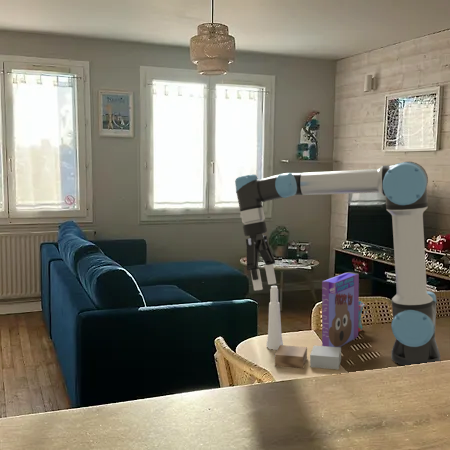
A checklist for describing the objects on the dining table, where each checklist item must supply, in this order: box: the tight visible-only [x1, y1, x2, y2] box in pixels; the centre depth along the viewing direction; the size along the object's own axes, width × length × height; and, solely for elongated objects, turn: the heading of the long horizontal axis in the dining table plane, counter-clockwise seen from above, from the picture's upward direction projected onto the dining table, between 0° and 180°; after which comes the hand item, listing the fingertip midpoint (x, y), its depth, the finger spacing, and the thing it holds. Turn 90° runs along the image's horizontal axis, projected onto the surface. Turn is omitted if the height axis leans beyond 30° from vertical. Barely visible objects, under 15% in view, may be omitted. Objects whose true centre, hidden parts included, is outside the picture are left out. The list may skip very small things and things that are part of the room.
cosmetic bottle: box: [266, 285, 284, 351], centre depth 198 cm, size 6×6×22 cm
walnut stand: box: [274, 344, 308, 370], centre depth 184 cm, size 9×9×4 cm
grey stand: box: [309, 345, 342, 370], centre depth 183 cm, size 9×9×4 cm
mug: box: [358, 300, 369, 333], centre depth 215 cm, size 12×9×11 cm
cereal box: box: [321, 271, 360, 348], centre depth 201 cm, size 17×5×24 cm, turn 139°
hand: (265, 287), depth 183 cm, fingers open, 13 cm apart
